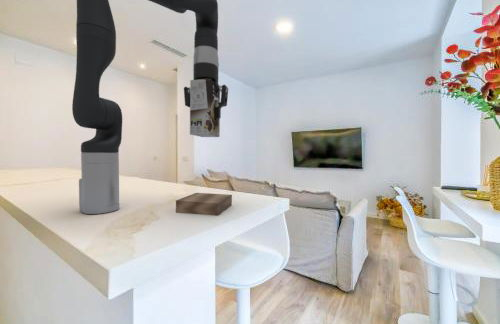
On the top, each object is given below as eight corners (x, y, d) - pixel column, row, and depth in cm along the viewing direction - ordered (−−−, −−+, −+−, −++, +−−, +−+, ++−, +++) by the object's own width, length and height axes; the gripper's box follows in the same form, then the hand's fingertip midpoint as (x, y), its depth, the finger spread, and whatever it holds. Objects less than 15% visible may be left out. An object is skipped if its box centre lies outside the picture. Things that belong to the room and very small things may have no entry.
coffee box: (209, 134, 64) (210, 77, 63) (189, 135, 65) (189, 79, 64) (220, 137, 72) (220, 87, 72) (202, 137, 74) (202, 88, 73)
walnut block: (175, 213, 65) (175, 200, 65) (196, 203, 78) (196, 192, 77) (217, 217, 62) (217, 203, 62) (231, 206, 75) (231, 194, 74)
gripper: (178, 62, 66) (178, 119, 66) (224, 59, 63) (223, 118, 63) (190, 72, 73) (190, 122, 74) (232, 69, 70) (231, 122, 71)
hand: (205, 120), depth 68 cm, fingers closed on coffee box, 6 cm apart
